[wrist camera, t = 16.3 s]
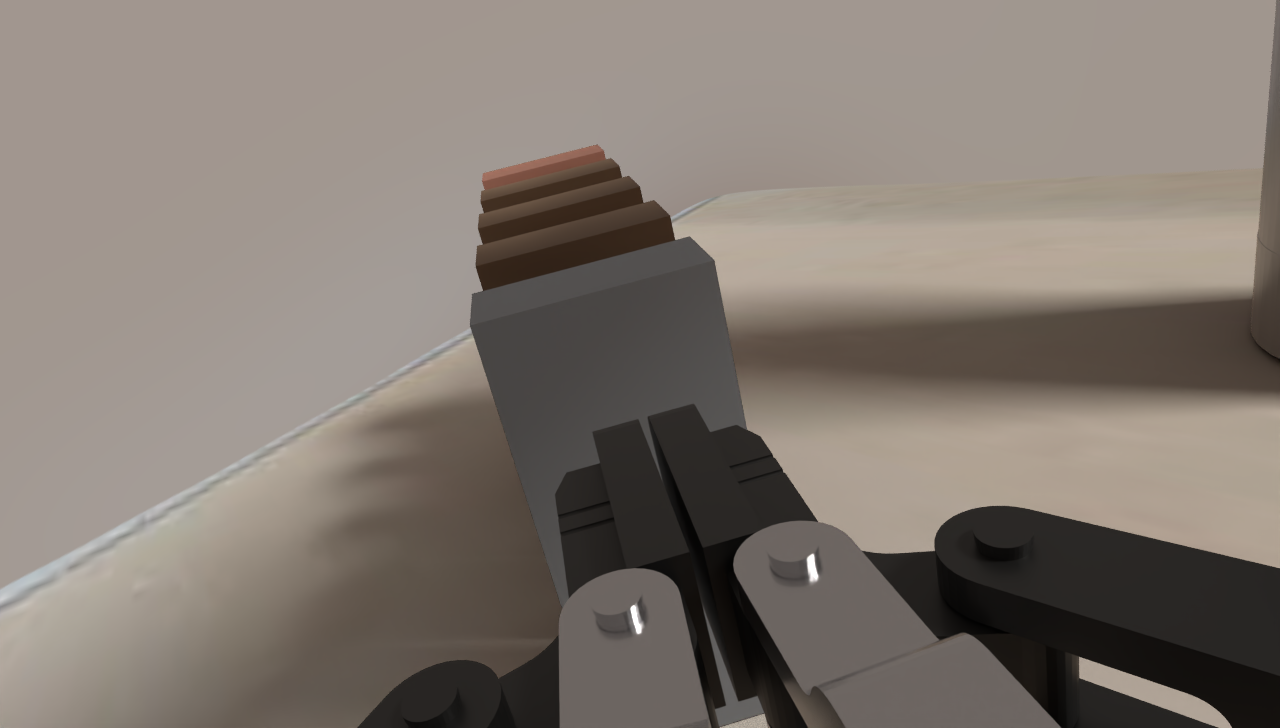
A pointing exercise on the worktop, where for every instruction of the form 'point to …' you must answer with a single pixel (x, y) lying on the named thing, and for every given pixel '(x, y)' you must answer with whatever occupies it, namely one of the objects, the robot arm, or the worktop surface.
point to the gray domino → (606, 373)
